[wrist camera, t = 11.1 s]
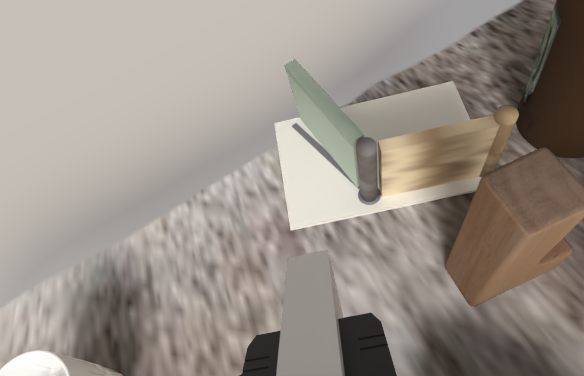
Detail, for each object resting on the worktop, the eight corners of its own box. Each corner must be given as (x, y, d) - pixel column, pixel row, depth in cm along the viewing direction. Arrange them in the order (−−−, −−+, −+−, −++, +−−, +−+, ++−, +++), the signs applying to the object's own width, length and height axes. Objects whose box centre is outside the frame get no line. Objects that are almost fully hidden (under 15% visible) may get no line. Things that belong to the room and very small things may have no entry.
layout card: (452, 83, 50) (453, 80, 50) (498, 186, 43) (500, 184, 43) (275, 124, 52) (274, 122, 52) (291, 230, 45) (290, 228, 45)
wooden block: (525, 226, 41) (613, 111, 25) (557, 266, 39) (675, 167, 23) (442, 265, 41) (479, 174, 25) (470, 308, 38) (529, 237, 23)
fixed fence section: (488, 163, 45) (513, 103, 36) (494, 177, 44) (522, 119, 35) (359, 191, 46) (353, 139, 37) (363, 205, 45) (358, 156, 36)
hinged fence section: (366, 181, 45) (363, 133, 38) (357, 187, 45) (351, 141, 38) (308, 112, 51) (294, 59, 44) (299, 118, 51) (284, 65, 43)
